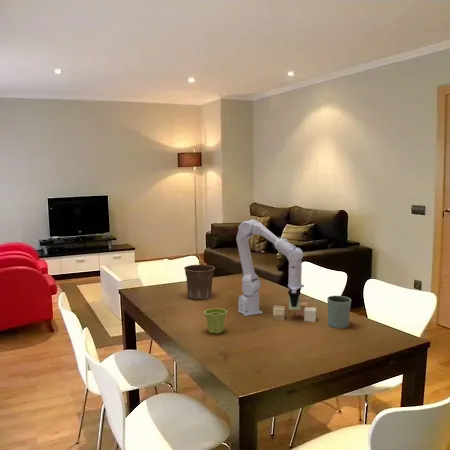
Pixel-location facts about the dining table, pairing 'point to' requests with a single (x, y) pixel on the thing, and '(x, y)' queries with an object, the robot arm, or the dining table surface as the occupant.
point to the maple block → (279, 312)
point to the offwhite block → (310, 314)
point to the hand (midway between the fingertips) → (294, 304)
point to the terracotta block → (301, 309)
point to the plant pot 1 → (199, 281)
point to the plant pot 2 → (215, 319)
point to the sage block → (296, 306)
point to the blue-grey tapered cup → (338, 311)
